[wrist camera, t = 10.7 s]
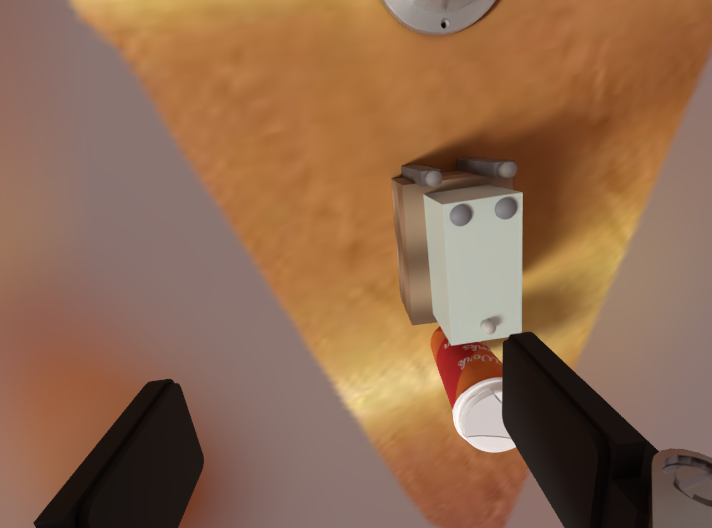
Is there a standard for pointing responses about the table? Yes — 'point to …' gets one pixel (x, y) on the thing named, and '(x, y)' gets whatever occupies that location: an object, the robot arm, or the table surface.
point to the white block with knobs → (475, 261)
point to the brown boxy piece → (414, 224)
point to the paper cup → (473, 391)
